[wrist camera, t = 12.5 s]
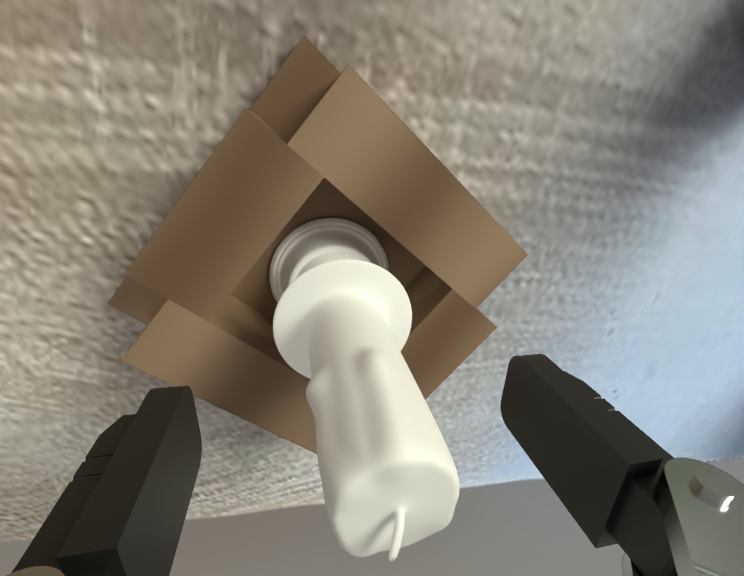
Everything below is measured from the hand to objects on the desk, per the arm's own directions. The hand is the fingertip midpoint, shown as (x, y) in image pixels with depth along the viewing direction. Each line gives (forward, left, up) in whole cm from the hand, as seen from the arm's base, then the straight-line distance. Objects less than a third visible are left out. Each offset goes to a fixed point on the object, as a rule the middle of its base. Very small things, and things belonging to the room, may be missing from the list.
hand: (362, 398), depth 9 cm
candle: (0, 0, -8) cm, 8 cm away
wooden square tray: (0, 0, -9) cm, 9 cm away
